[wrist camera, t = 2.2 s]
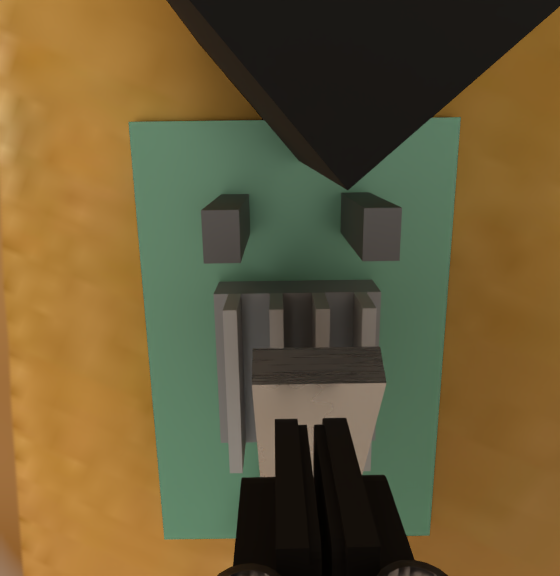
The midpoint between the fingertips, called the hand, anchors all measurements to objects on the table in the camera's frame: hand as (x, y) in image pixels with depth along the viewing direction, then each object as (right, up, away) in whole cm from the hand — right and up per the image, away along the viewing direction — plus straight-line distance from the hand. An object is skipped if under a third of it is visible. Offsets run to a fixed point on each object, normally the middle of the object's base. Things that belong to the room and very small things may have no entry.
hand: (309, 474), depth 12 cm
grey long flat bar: (0, -3, +7) cm, 8 cm away
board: (0, +1, +17) cm, 17 cm away
